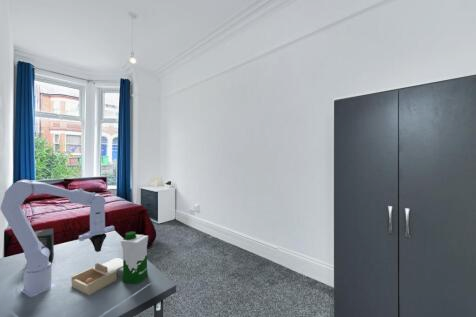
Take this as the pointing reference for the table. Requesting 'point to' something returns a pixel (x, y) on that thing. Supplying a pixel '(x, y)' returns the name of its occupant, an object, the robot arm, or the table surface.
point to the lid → (109, 266)
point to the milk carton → (134, 257)
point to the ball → (89, 280)
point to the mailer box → (97, 284)
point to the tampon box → (47, 240)
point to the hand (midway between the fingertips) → (97, 251)
